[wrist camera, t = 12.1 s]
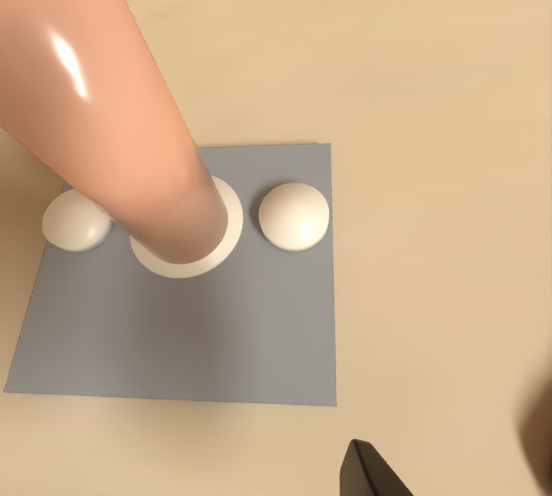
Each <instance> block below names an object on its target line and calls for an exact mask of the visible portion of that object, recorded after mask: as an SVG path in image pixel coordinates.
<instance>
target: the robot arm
mask: <svg viewBox="0 0 552 496" xmlns="http://www.w3.org/2000/svg"><path fill="white" fill-rule="evenodd" d="M340 496H414V495H413V494H412V493H411V492H410V490H409V489H408V488H407V487H406V486H405V484H404V483H403V482H402V481H401V480H400V478H399V477H398V476H397V475H396V473H395V472H394V471H393V470H392V469H391V467H390V466H389V465H388V464H387V462H386V461H385V460H384V459H383V458H382V456H381V455H380V454H379V453H378V452H377V450H376V449H375V448H374V447H373V445H372V444H371V443H369V442H366V441H362V440H358V439H353V440H351V442H350V444H349V446H348V449H347V452H346V455H345V457H344V460H343V463H342V466H341V470H340Z"/></svg>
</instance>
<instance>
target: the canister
mask: <svg viewBox="0 0 552 496" xmlns="http://www.w3.org/2000/svg"><path fill="white" fill-rule="evenodd" d="M0 127H2V128H3V129H4V130H5V131H6V132H8V133H9V134H10V135H11V136H12V137H14V138H15V139H16V140H17V141H18V142H20V143H21V144H22V145H23V146H24V147H26V148H27V149H28V150H29V151H30V152H31V153H33V154H34V155H35V156H36V157H37V158H39V159H40V160H41V161H42V162H43V163H45V164H46V165H47V166H48V167H49V168H51V169H52V170H53V171H54V172H55V173H57V174H58V175H59V176H60V177H61V178H63V179H64V180H65V181H66V182H67V183H68V184H70V185H71V186H72V187H73V188H74V189H76V190H77V191H78V192H79V193H80V194H82V195H83V196H84V197H85V198H86V199H88V200H89V201H90V202H91V203H92V204H94V205H95V206H96V207H97V208H98V209H100V210H101V211H102V212H103V213H104V214H105V215H107V216H108V217H109V218H110V219H111V220H113V221H114V222H115V223H116V224H117V225H119V226H120V227H121V228H122V229H123V230H125V231H126V232H127V233H128V234H129V235H131V236H132V237H133V238H134V239H135V240H136V241H138V242H139V243H140V244H141V245H142V246H144V247H145V248H146V249H147V250H148V251H150V252H151V253H152V254H153V255H154V256H156V257H157V258H159V259H160V260H162V261H164V262H167V263H171V264H188V263H193V262H196V261H198V260H201V259H203V258H204V257H206V256H208V255H209V254H210V253H212V252H213V251H214V250H215V249H216V248H217V247H218V245H219V244H220V243H221V241H222V240H223V238H224V236H225V233H226V231H227V227H228V212H227V208H226V206H225V204H224V201H223V199H222V197H221V195H220V193H219V191H218V189H217V187H216V185H215V183H214V181H213V179H212V177H211V175H210V173H209V171H208V169H207V167H206V165H205V162H204V160H203V158H202V156H201V154H200V152H199V150H198V148H197V146H196V144H195V142H194V140H193V138H192V136H191V134H190V132H189V130H188V128H187V126H186V124H185V121H184V119H183V117H182V115H181V113H180V111H179V109H178V107H177V105H176V103H175V101H174V99H173V97H172V95H171V93H170V91H169V89H168V87H167V85H166V82H165V80H164V78H163V76H162V74H161V72H160V70H159V68H158V66H157V64H156V62H155V60H154V58H153V56H152V54H151V52H150V50H149V48H148V46H147V44H146V41H145V39H144V37H143V35H142V33H141V31H140V29H139V27H138V25H137V23H136V21H135V19H134V17H133V15H132V13H131V11H130V9H129V7H128V5H127V3H126V0H0Z"/></svg>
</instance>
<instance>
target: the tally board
mask: <svg viewBox="0 0 552 496" xmlns="http://www.w3.org/2000/svg"><path fill="white" fill-rule="evenodd" d="M198 150H199V152H200V154H201V156H202V158H203V160H204V162H205V165H206V167H207V169H208V171H209V173H210V175H211V177H212V179H213V181H214V183H215V185H216V187H217V189H218V191H219V193H220V195H221V197H222V199H223V201H224V204H225V206H226V208H227V212H228V227H227V231H226V233H225V236H224V238H223V240H222V241H221V243H220V244H219V245H218V247H217V248H216V249H215V250H214V251H213V252H212V253H210V254H209V255H208V256H206V257H204V258H203V259H201V260H198V261H196V262H193V263H188V264H171V263H167V262H164V261H162V260H160V259H159V258H157V257H156V256H154V255H153V254H152V253H151V252H150V251H148V250H147V249H146V248H145V247H144V246H142V245H141V244H140V243H139V242H138V241H136V240H135V239H134V238H133V237H132V236H131V235H129V234H128V233H127V232H126V231H125V230H123V229H122V228H121V227H120V226H119V225H117V224H116V223H115V222H114V221H113V220H111V219H110V218H109V217H108V216H107V215H105V214H104V213H103V212H102V211H101V210H100V209H98V208H97V207H96V206H95V205H94V204H92V203H91V202H90V201H89V200H88V199H86V198H85V197H84V196H83V195H82V194H80V193H79V192H78V191H77V190H76V189H74V188H73V187H72V186H71V185H70V184H68V183H67V182H66V181H65V182H64V185H63V189H62V192H61V195H59V196H58V197H57V198H55V199H54V200H53V201H52V202H51V204H50V205H49V206H48V208H47V209H46V211H45V213H44V216H43V220H42V230H43V233H44V236H45V237H46V239H47V240H48V241H47V244H46V247H45V251H44V254H43V258H42V261H41V265H40V268H39V272H38V275H37V279H36V282H35V285H34V289H33V292H32V296H31V299H30V303H29V306H28V310H27V313H26V317H25V320H24V323H23V327H22V330H21V334H20V337H19V341H18V344H17V348H16V351H15V355H14V358H13V361H12V365H11V368H10V372H9V375H8V379H7V382H6V386H5V389H4V392H9V393H32V394H55V395H78V396H101V397H124V398H147V399H170V400H193V401H217V402H240V403H263V404H286V405H309V406H332V407H337V403H336V359H335V316H334V272H333V228H332V185H331V143H326V144H297V145H269V146H240V147H211V148H198Z"/></svg>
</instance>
